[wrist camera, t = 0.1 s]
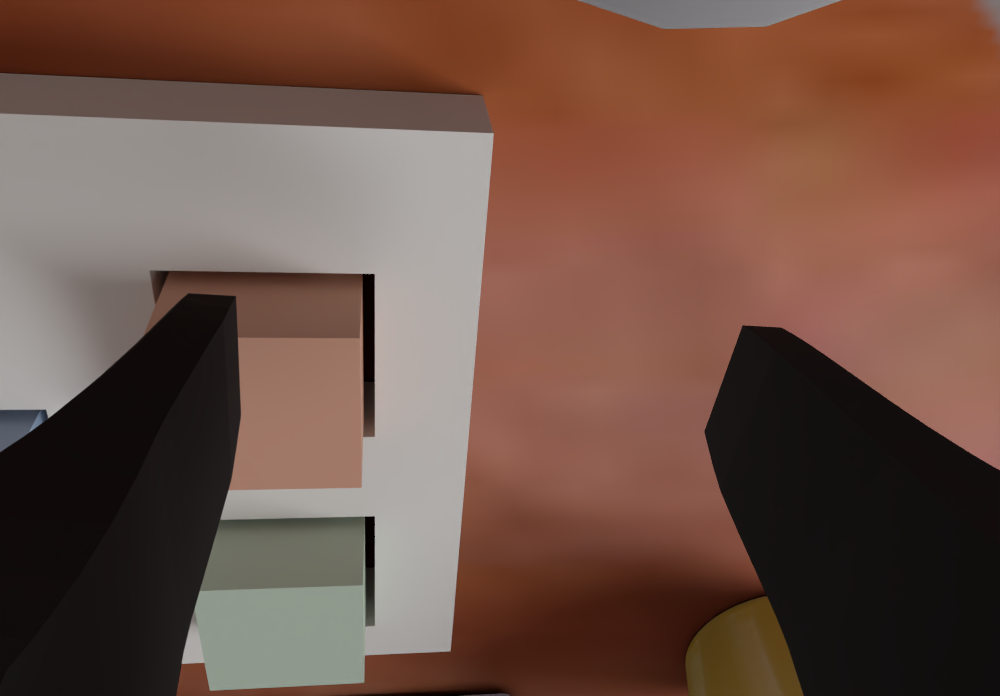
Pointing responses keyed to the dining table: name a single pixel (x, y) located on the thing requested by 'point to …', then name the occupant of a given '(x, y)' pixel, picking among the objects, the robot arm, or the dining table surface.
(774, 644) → the plant pot
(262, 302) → the terracotta button
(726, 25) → the can
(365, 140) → the white button panel
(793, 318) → the dining table surface
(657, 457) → the dining table surface
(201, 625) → the sage button
